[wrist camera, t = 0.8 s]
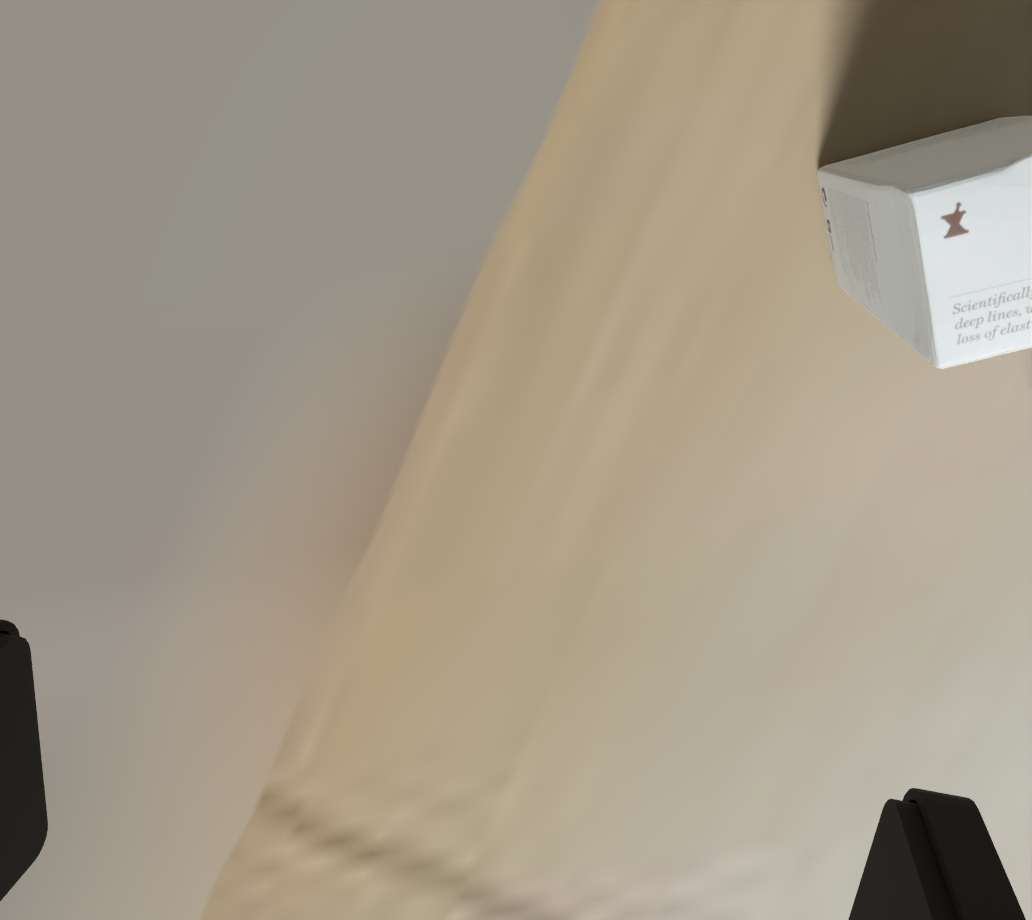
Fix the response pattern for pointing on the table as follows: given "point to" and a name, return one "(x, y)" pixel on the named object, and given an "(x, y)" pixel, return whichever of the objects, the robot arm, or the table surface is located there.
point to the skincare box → (940, 238)
